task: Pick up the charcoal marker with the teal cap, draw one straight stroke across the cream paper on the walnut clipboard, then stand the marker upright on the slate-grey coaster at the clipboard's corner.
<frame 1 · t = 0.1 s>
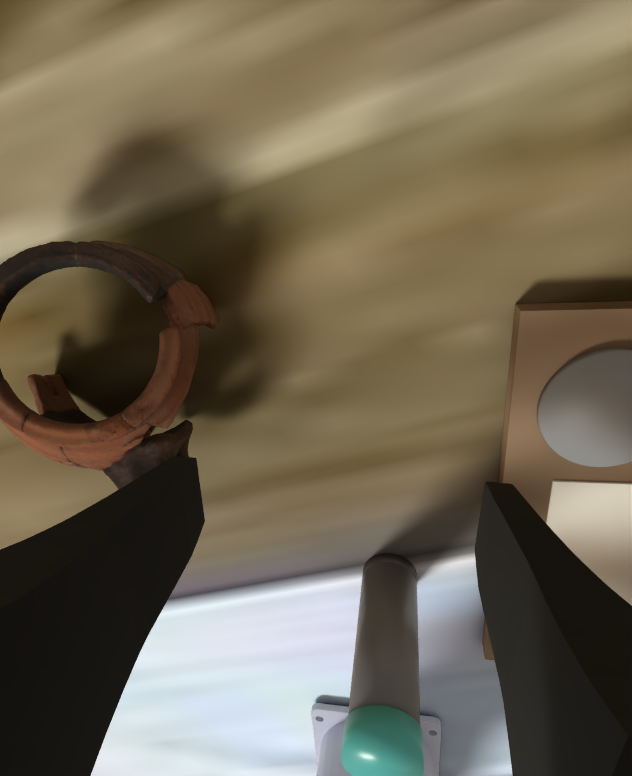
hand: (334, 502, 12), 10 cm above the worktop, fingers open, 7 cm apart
marker: (389, 574, 26), on the worktop
reddish-brown lumpy part: (150, 362, 24), on the worktop
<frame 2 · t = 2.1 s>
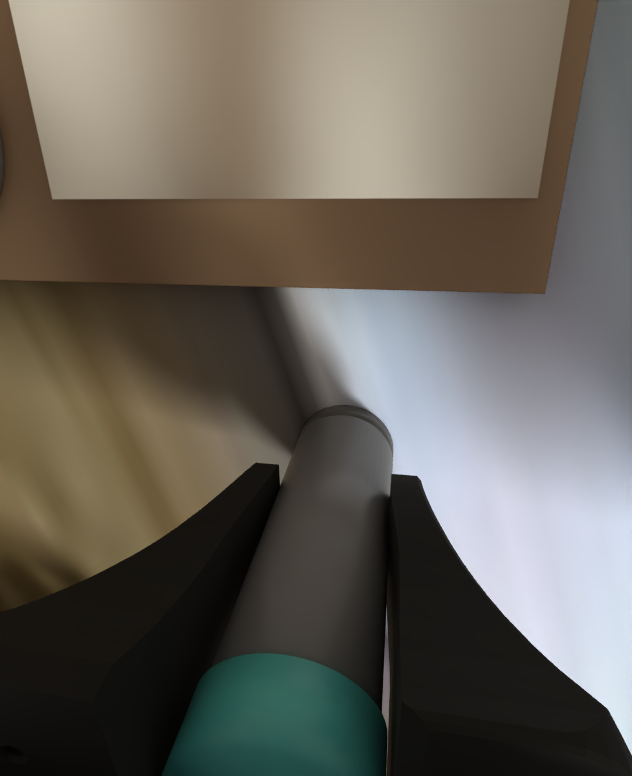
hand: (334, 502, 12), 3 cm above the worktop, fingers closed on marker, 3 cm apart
marker: (345, 447, 15), on the worktop, touching gripper
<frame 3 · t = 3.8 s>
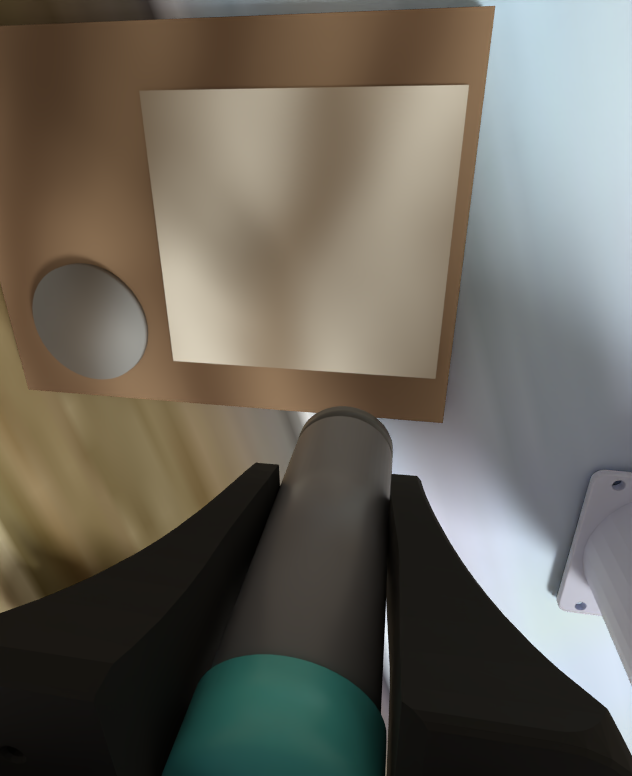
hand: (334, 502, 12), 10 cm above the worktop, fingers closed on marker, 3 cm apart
marker: (345, 448, 15), point 7 cm above the worktop, touching gripper
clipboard: (217, 237, 20), on the worktop
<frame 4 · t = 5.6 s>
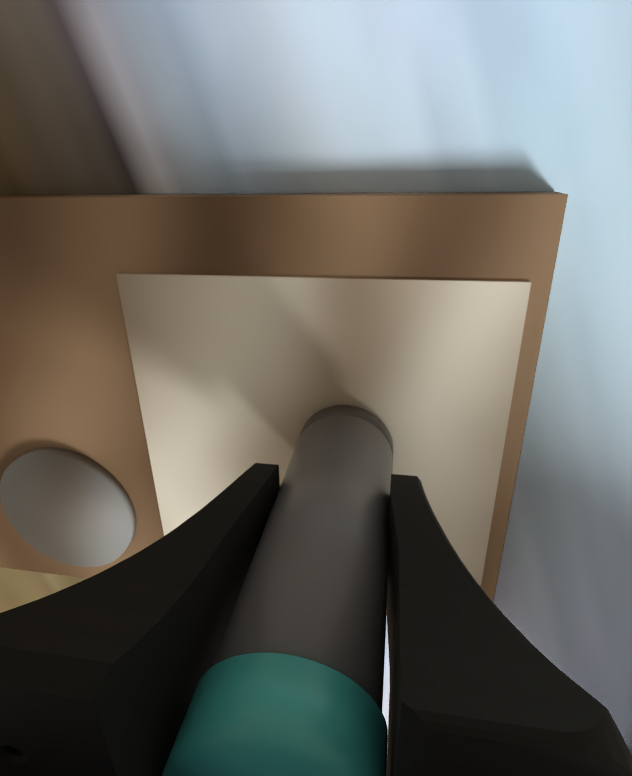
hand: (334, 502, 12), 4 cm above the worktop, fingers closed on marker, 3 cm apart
marker: (345, 447, 15), point 1 cm above the worktop, touching gripper
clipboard: (215, 418, 17), on the worktop
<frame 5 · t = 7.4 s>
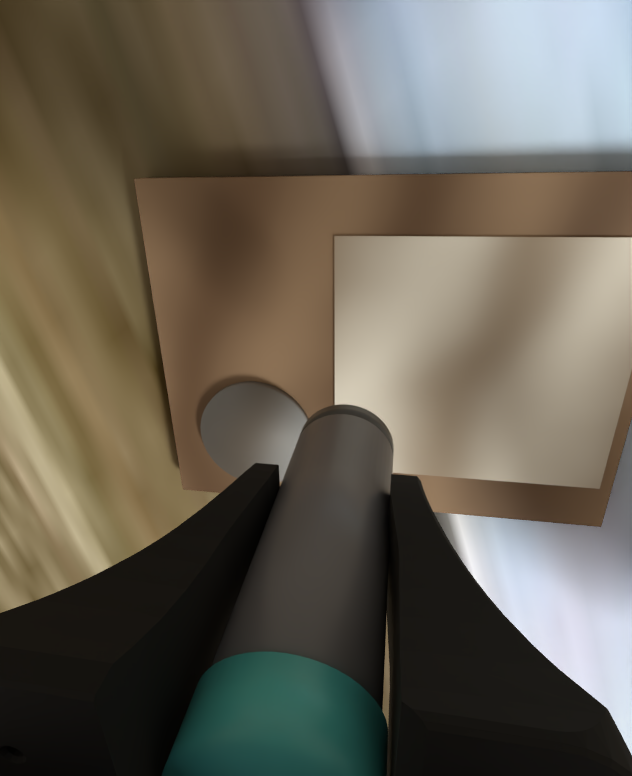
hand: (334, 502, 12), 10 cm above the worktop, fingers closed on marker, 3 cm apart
marker: (345, 446, 15), point 7 cm above the worktop, touching gripper
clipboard: (385, 356, 21), on the worktop
when the fingers open (5 cm above the worktop, at t = 9.0 s): marker stays where it is, resting on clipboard.
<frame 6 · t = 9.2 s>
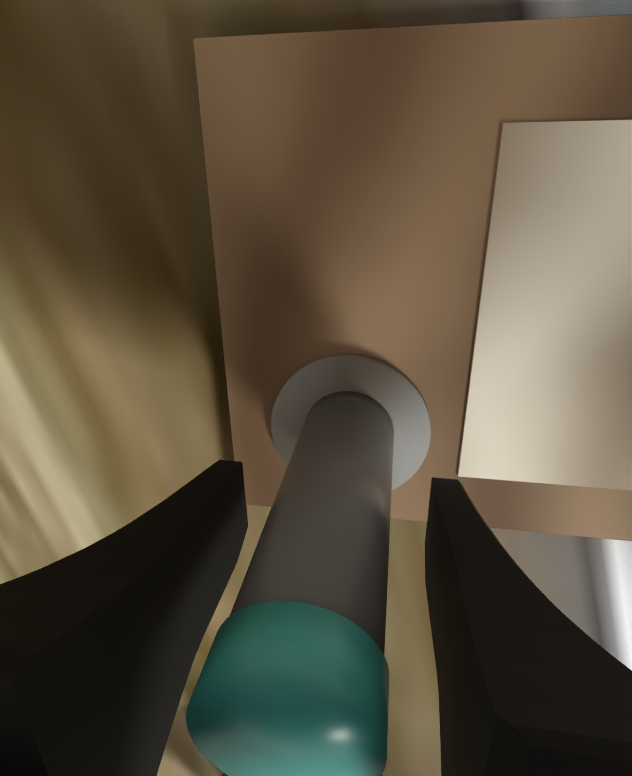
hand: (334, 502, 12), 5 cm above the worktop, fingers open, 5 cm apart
marker: (348, 431, 16), point 1 cm above the worktop, touching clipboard
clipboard: (543, 317, 14), on the worktop
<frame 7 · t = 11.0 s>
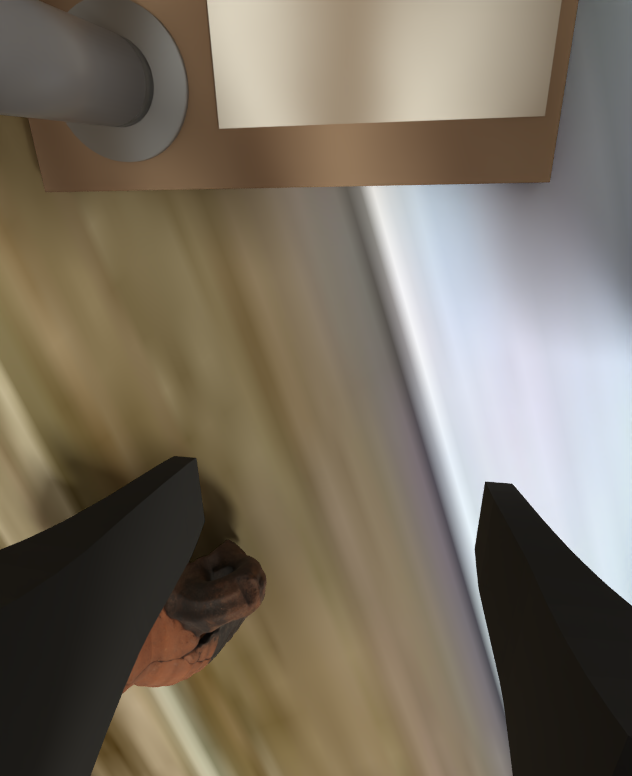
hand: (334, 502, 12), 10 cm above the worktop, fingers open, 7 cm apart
marker: (115, 82, 17), point 1 cm above the worktop, touching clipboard
reddish-brown lumpy part: (195, 552, 29), on the worktop
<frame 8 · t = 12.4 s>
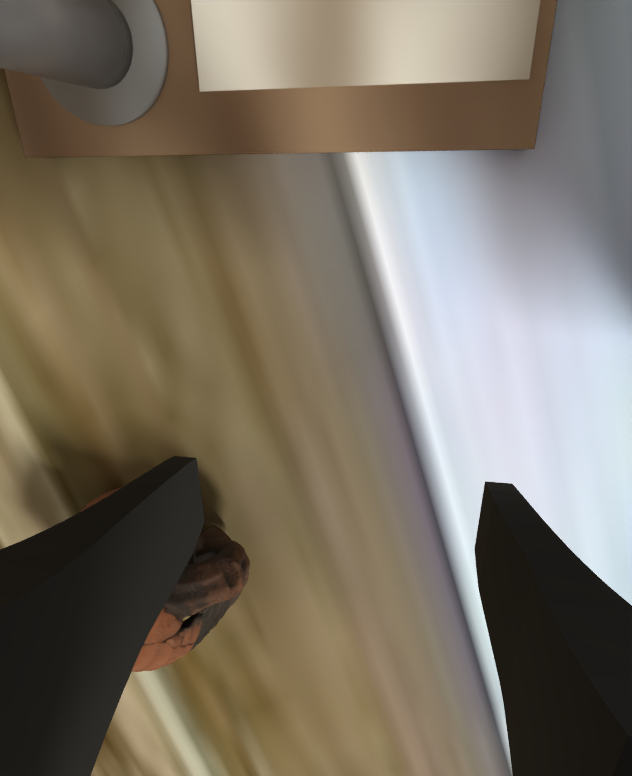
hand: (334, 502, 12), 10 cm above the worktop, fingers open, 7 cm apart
marker: (94, 42, 17), point 1 cm above the worktop, touching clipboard
reddish-brown lumpy part: (182, 538, 29), on the worktop
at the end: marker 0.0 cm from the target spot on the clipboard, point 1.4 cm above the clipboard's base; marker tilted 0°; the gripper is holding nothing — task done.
